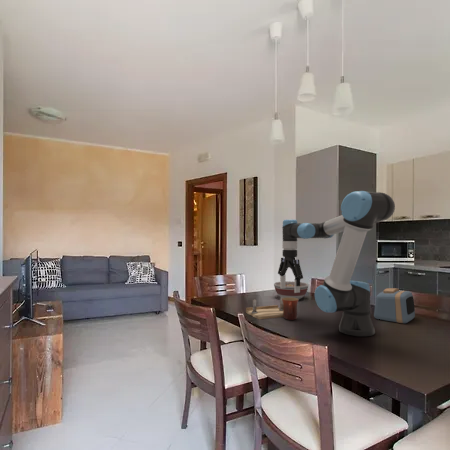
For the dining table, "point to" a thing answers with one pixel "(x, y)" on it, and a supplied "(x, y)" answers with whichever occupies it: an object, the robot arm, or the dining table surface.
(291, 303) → the mug
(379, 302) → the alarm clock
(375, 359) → the dining table surface
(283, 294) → the bowl
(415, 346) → the dining table surface
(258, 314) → the caddy
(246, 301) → the dining table surface
